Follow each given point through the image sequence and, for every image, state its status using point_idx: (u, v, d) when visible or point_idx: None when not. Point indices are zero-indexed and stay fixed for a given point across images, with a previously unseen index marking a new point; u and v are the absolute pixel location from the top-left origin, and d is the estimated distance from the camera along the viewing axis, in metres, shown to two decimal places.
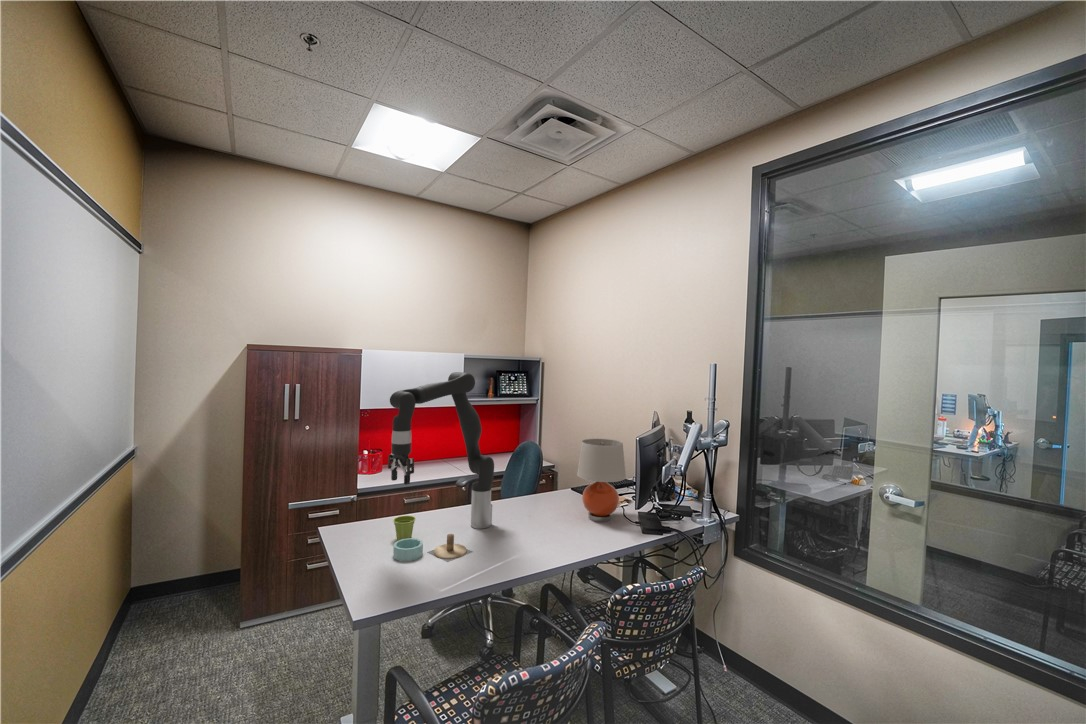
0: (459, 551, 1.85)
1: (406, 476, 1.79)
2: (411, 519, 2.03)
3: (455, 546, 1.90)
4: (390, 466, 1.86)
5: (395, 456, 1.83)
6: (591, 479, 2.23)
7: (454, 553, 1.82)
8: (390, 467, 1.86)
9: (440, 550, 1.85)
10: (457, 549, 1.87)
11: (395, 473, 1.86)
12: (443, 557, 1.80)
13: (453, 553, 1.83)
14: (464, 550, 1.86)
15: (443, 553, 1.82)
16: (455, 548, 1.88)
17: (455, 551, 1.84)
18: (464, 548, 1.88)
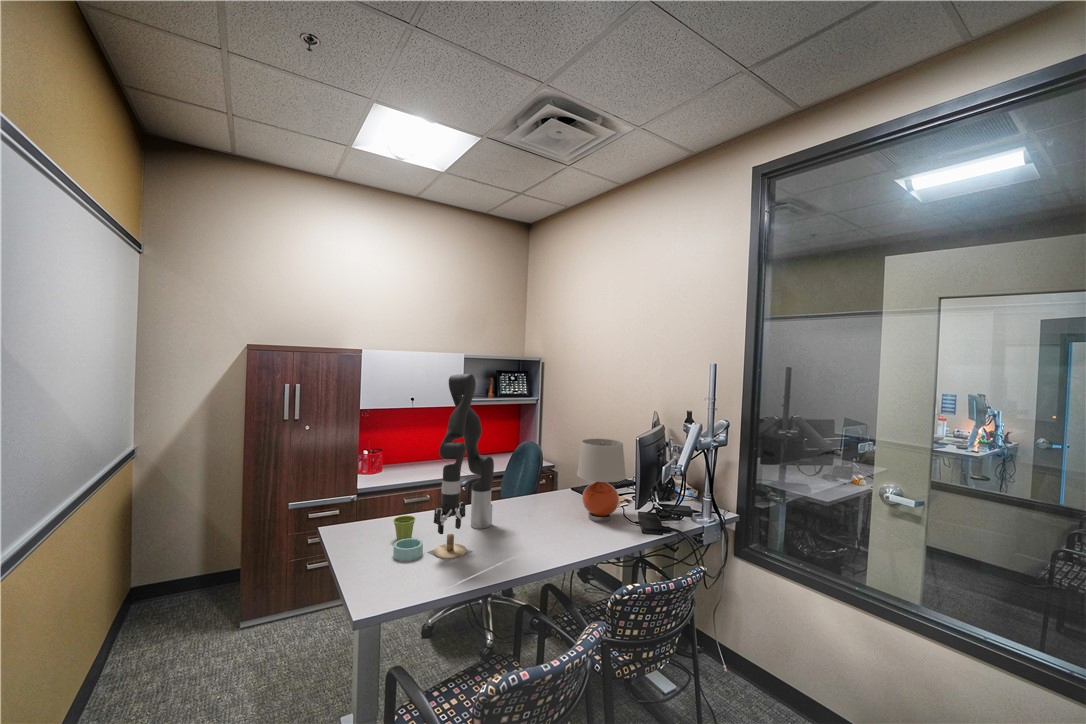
0: (459, 551, 1.85)
1: (460, 520, 1.89)
2: (411, 519, 2.03)
3: (455, 546, 1.90)
4: None
5: (447, 507, 1.83)
6: (591, 479, 2.23)
7: (454, 553, 1.82)
8: None
9: (440, 550, 1.85)
10: (457, 549, 1.87)
11: None
12: (443, 557, 1.80)
13: (453, 553, 1.83)
14: (464, 550, 1.86)
15: (443, 553, 1.82)
16: (455, 548, 1.88)
17: (455, 551, 1.84)
18: (464, 548, 1.88)
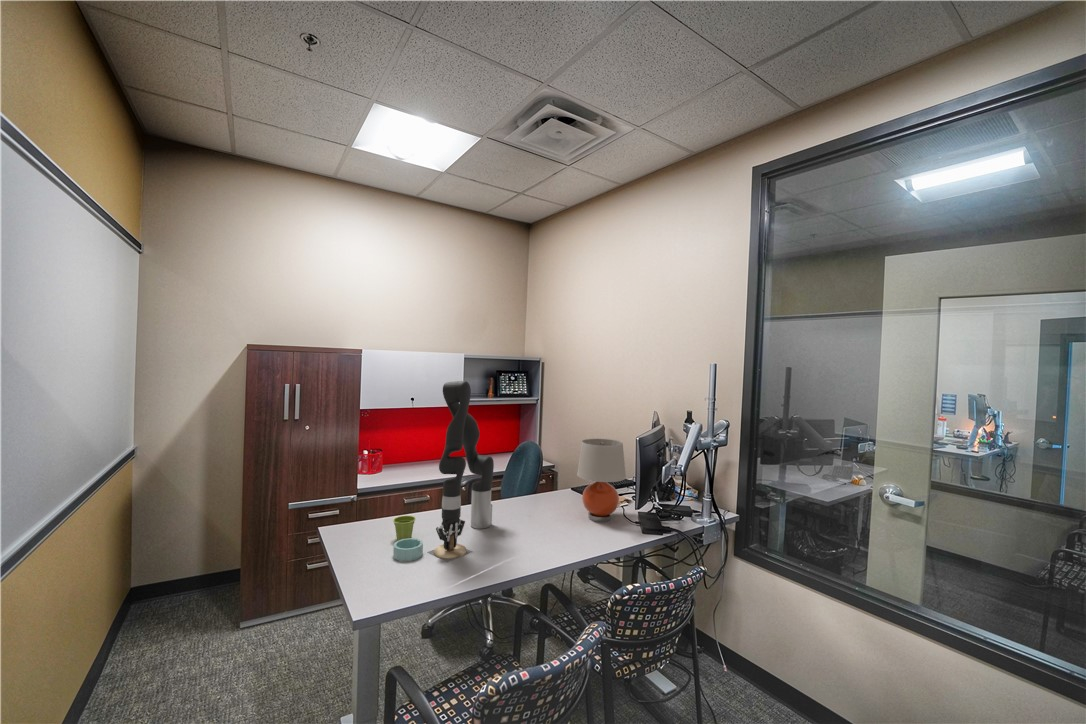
0: (459, 551, 1.85)
1: (456, 539, 1.87)
2: (411, 519, 2.03)
3: None
4: (445, 537, 1.83)
5: (447, 522, 1.83)
6: (591, 479, 2.23)
7: (454, 553, 1.82)
8: None
9: (440, 550, 1.85)
10: (457, 549, 1.87)
11: None
12: (443, 557, 1.80)
13: (453, 553, 1.83)
14: (464, 550, 1.86)
15: (443, 553, 1.82)
16: (455, 548, 1.88)
17: (456, 551, 1.84)
18: (464, 548, 1.88)
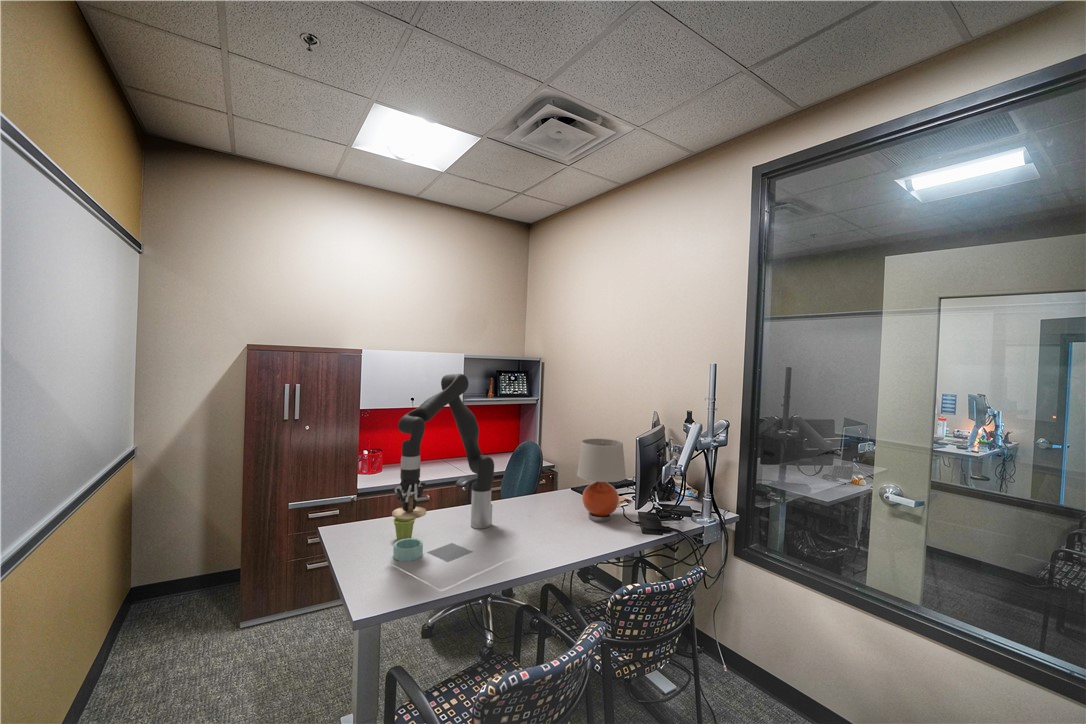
0: (418, 513, 1.81)
1: (415, 500, 1.83)
2: (411, 519, 2.03)
3: (415, 508, 1.86)
4: (403, 498, 1.79)
5: (406, 482, 1.79)
6: (591, 479, 2.23)
7: (412, 514, 1.78)
8: None
9: (399, 511, 1.81)
10: (417, 511, 1.83)
11: None
12: (400, 517, 1.76)
13: (411, 514, 1.79)
14: (424, 512, 1.82)
15: (401, 514, 1.79)
16: (415, 510, 1.84)
17: (415, 513, 1.81)
18: (424, 510, 1.84)
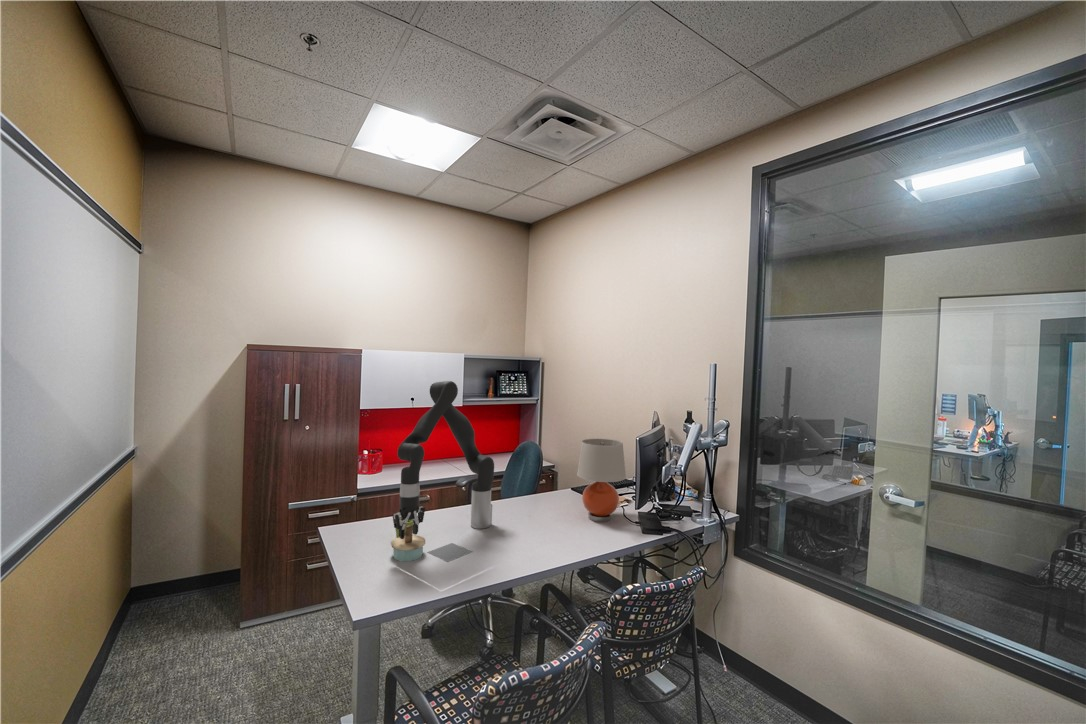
0: (417, 543, 1.81)
1: (417, 526, 1.84)
2: (411, 519, 2.03)
3: (414, 538, 1.86)
4: (399, 526, 1.78)
5: (405, 510, 1.80)
6: (591, 479, 2.23)
7: (411, 545, 1.79)
8: (399, 527, 1.78)
9: (398, 542, 1.81)
10: (416, 541, 1.83)
11: None
12: (400, 548, 1.76)
13: (410, 545, 1.79)
14: (423, 542, 1.82)
15: (401, 545, 1.79)
16: (414, 540, 1.84)
17: (414, 543, 1.81)
18: (423, 540, 1.84)
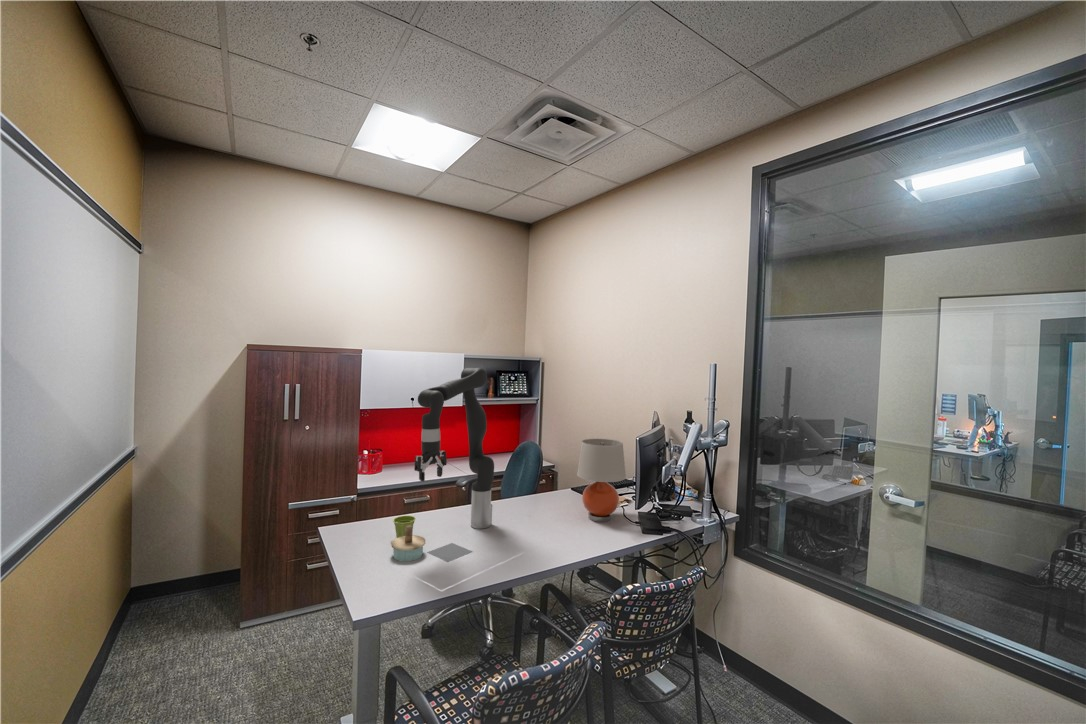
0: (417, 543, 1.81)
1: (441, 468, 1.91)
2: (411, 519, 2.03)
3: (414, 538, 1.86)
4: None
5: (428, 455, 1.85)
6: (591, 479, 2.23)
7: (411, 545, 1.79)
8: None
9: (398, 542, 1.81)
10: (416, 541, 1.83)
11: None
12: (400, 548, 1.76)
13: (410, 545, 1.79)
14: (423, 542, 1.82)
15: (401, 545, 1.79)
16: (414, 540, 1.84)
17: (414, 543, 1.81)
18: (423, 540, 1.84)
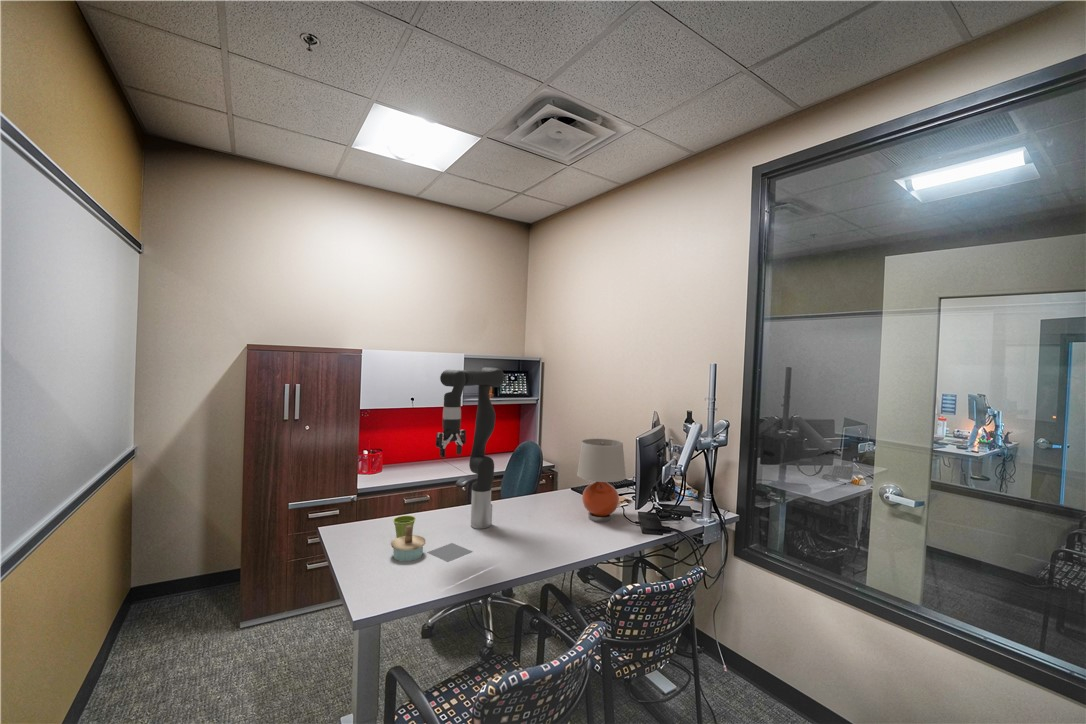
0: (417, 543, 1.81)
1: (461, 446, 1.96)
2: (411, 519, 2.03)
3: (414, 538, 1.86)
4: None
5: (449, 432, 1.90)
6: (591, 479, 2.23)
7: (411, 545, 1.79)
8: None
9: (398, 542, 1.81)
10: (416, 541, 1.83)
11: None
12: (400, 548, 1.76)
13: (410, 545, 1.79)
14: (423, 542, 1.82)
15: (401, 545, 1.79)
16: (414, 540, 1.84)
17: (414, 543, 1.81)
18: (423, 540, 1.84)
